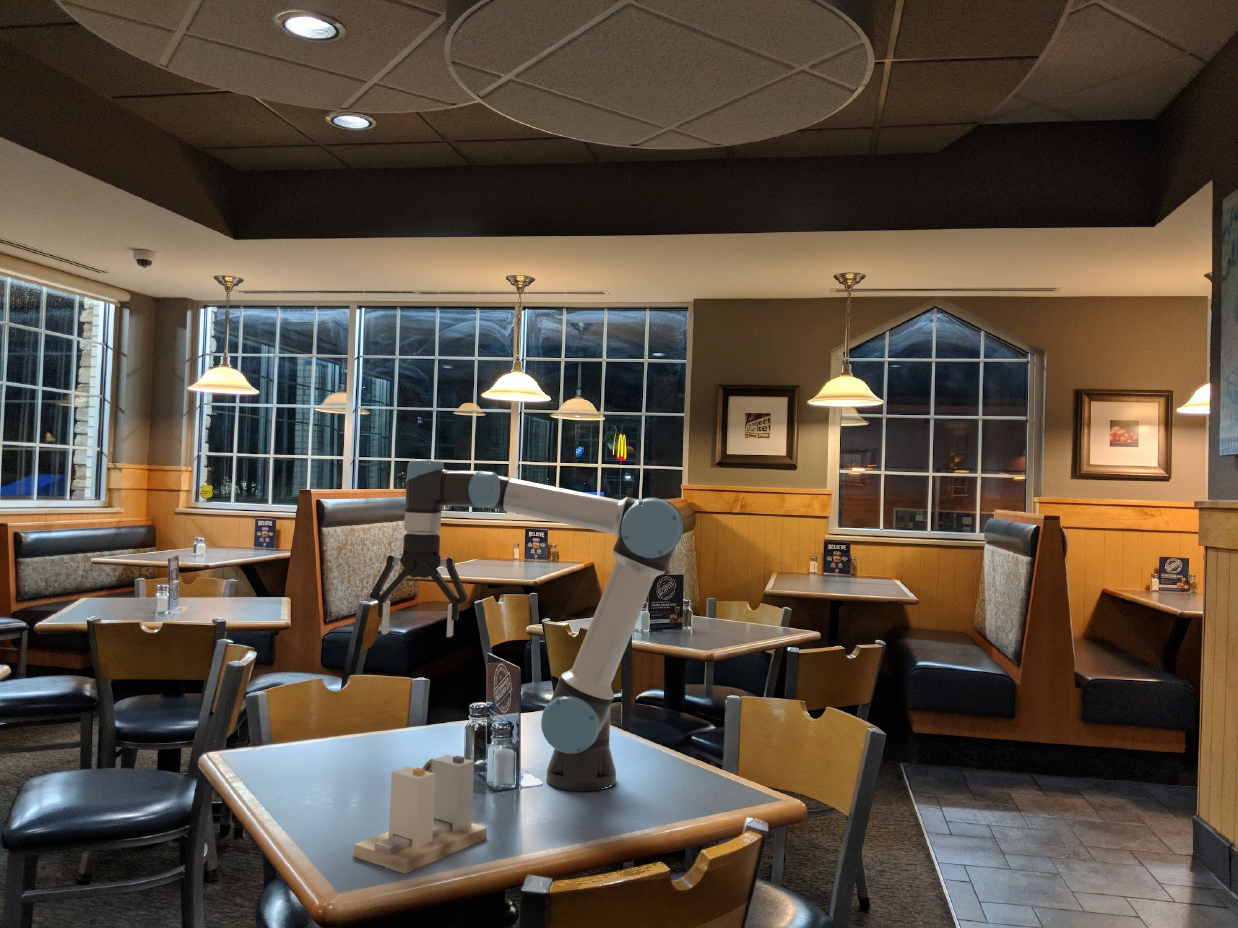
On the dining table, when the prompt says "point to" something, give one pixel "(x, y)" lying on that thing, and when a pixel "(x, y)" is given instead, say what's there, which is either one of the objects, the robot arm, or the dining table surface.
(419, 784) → the block
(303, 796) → the dining table surface
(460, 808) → the fitted module
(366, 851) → the rail board
